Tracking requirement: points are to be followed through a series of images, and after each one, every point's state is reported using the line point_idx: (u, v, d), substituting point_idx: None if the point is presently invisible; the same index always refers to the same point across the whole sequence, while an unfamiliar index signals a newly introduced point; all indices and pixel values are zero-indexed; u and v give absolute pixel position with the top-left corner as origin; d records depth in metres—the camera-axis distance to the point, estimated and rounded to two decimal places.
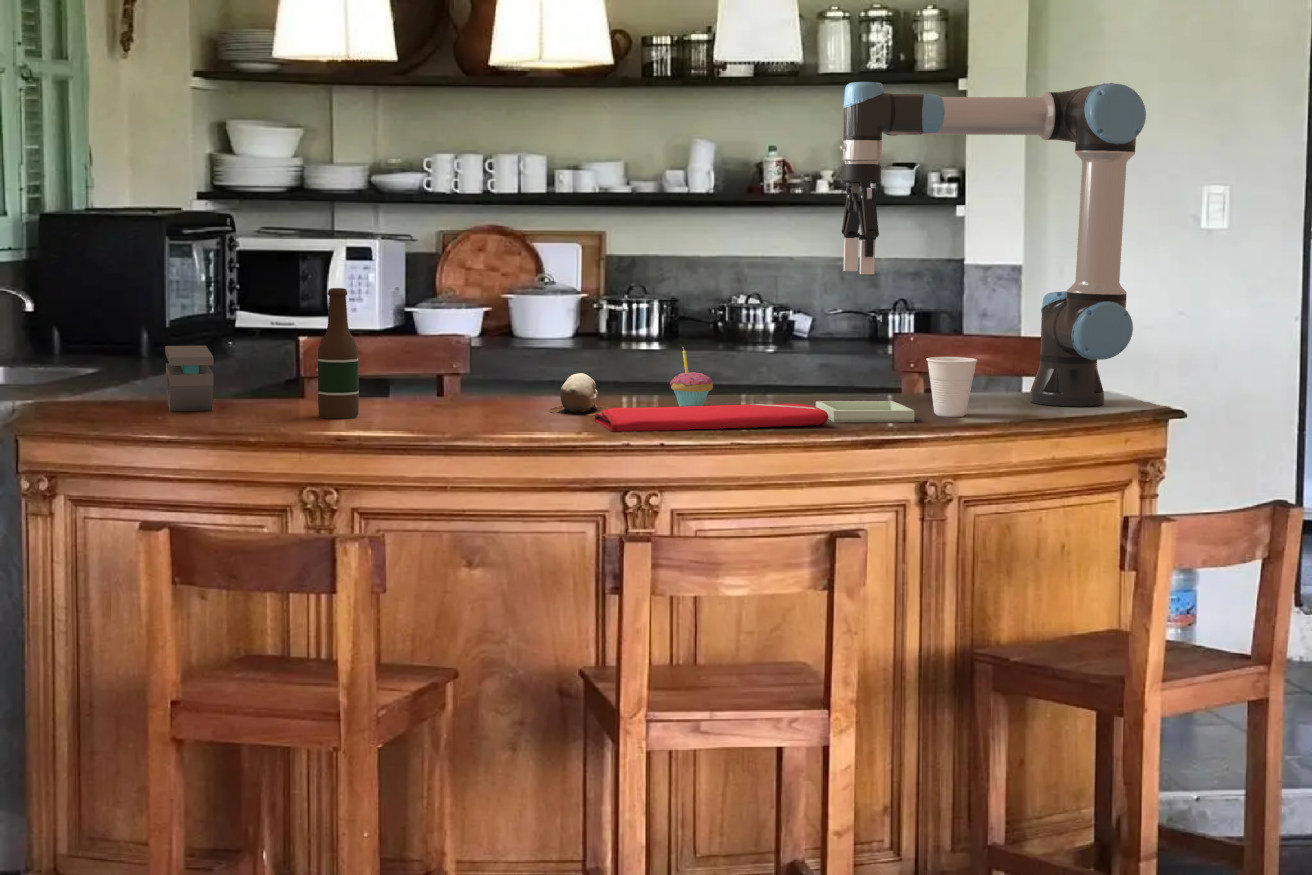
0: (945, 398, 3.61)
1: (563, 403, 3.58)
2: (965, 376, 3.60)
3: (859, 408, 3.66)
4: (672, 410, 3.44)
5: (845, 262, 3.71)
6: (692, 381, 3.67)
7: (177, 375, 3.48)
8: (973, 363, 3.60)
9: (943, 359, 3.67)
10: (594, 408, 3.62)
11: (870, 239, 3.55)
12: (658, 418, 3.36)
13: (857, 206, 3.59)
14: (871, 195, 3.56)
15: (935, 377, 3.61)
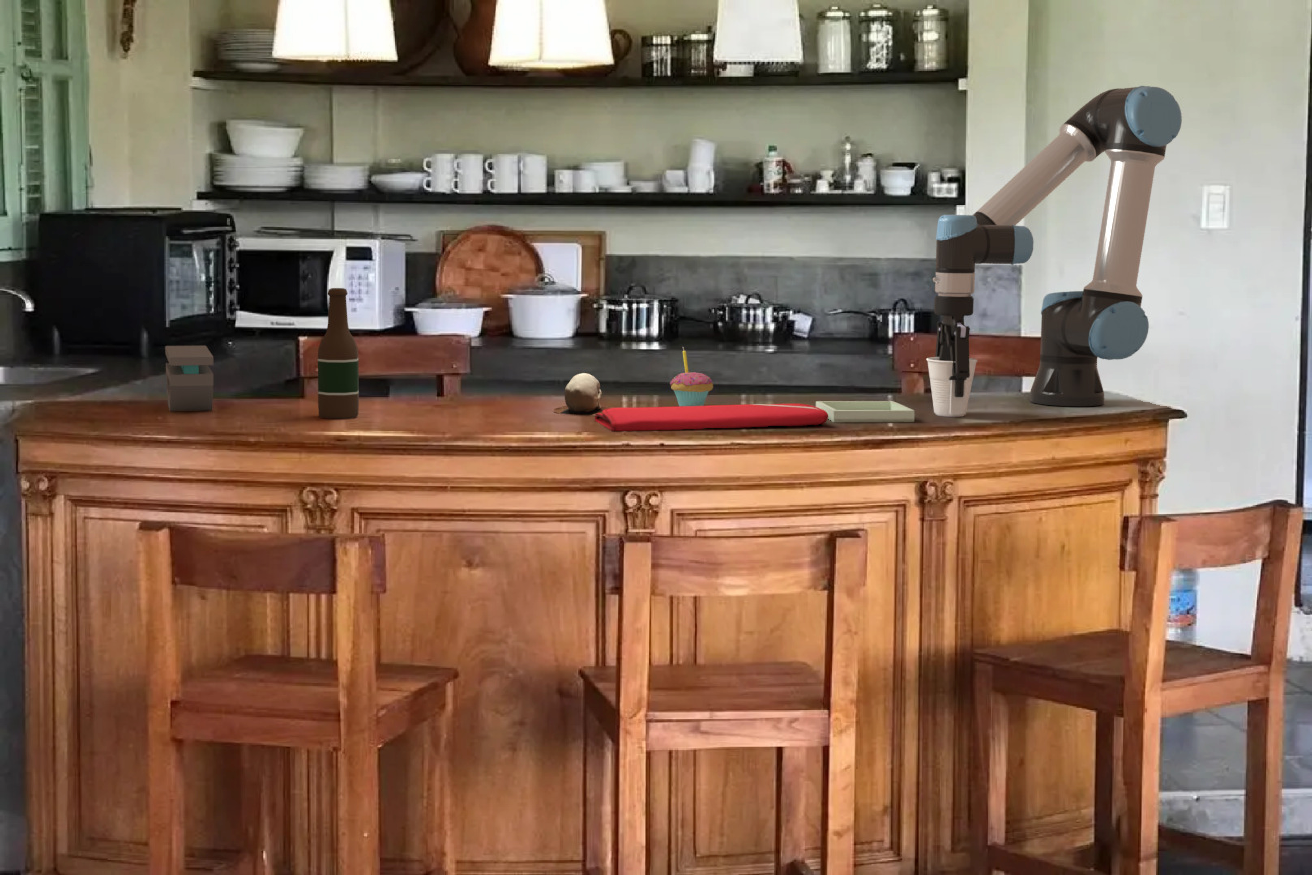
0: (945, 398, 3.61)
1: (567, 403, 3.58)
2: None
3: (859, 408, 3.66)
4: (672, 410, 3.44)
5: None
6: (692, 381, 3.67)
7: (177, 375, 3.48)
8: (973, 363, 3.60)
9: None
10: (598, 408, 3.62)
11: (961, 380, 3.57)
12: (658, 418, 3.36)
13: (949, 341, 3.59)
14: (965, 334, 3.56)
15: (935, 377, 3.61)
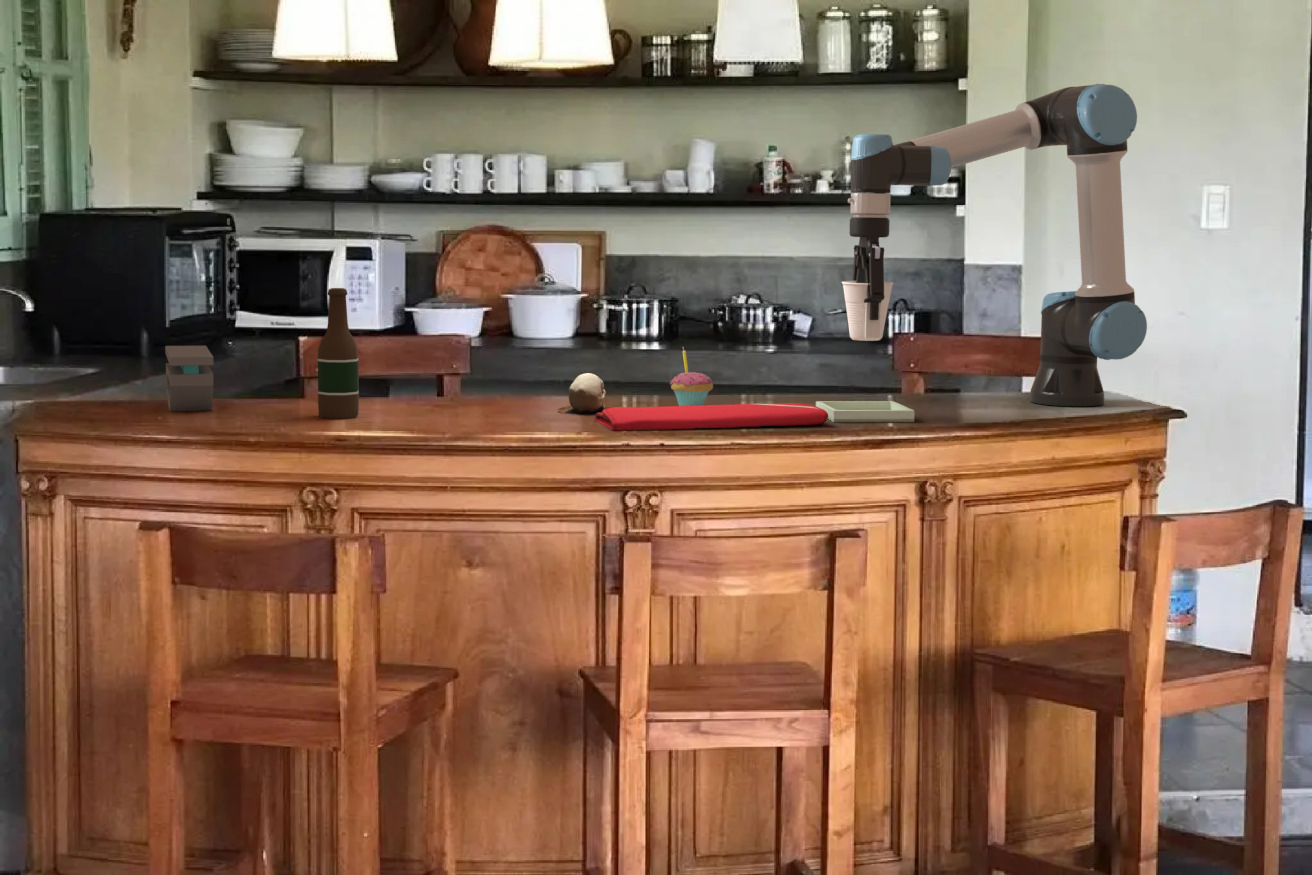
0: (860, 321, 3.53)
1: (571, 403, 3.59)
2: None
3: (859, 408, 3.66)
4: (672, 409, 3.44)
5: None
6: (692, 381, 3.67)
7: (177, 375, 3.48)
8: (888, 285, 3.53)
9: None
10: (602, 408, 3.62)
11: (875, 302, 3.50)
12: (658, 417, 3.37)
13: (864, 264, 3.52)
14: (879, 255, 3.48)
15: (850, 300, 3.54)
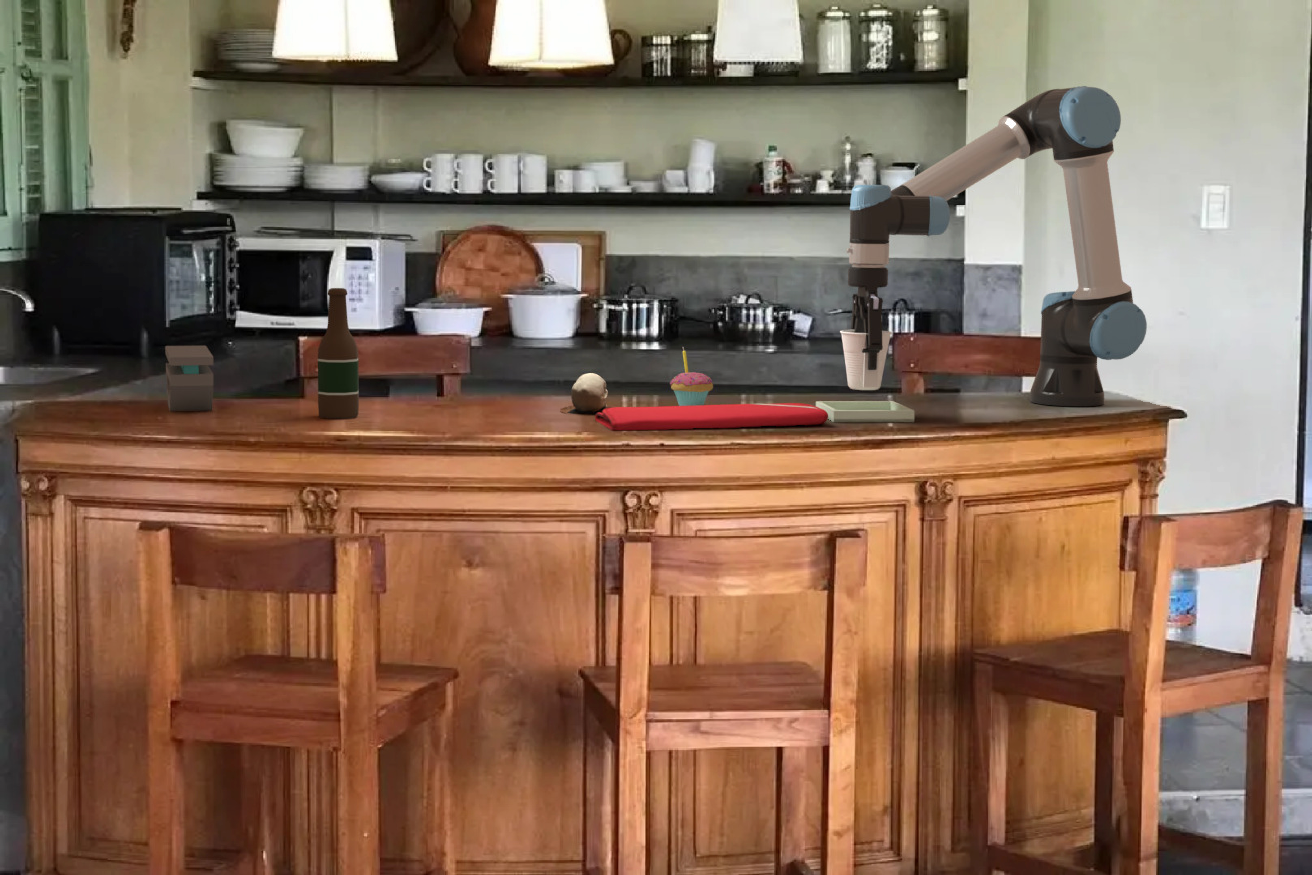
0: (858, 370, 3.55)
1: (574, 403, 3.59)
2: None
3: (859, 408, 3.66)
4: (672, 409, 3.45)
5: None
6: (692, 381, 3.67)
7: (177, 375, 3.48)
8: (887, 335, 3.54)
9: None
10: (604, 408, 3.63)
11: (873, 352, 3.51)
12: (658, 417, 3.37)
13: (863, 313, 3.53)
14: (877, 306, 3.50)
15: (849, 350, 3.55)
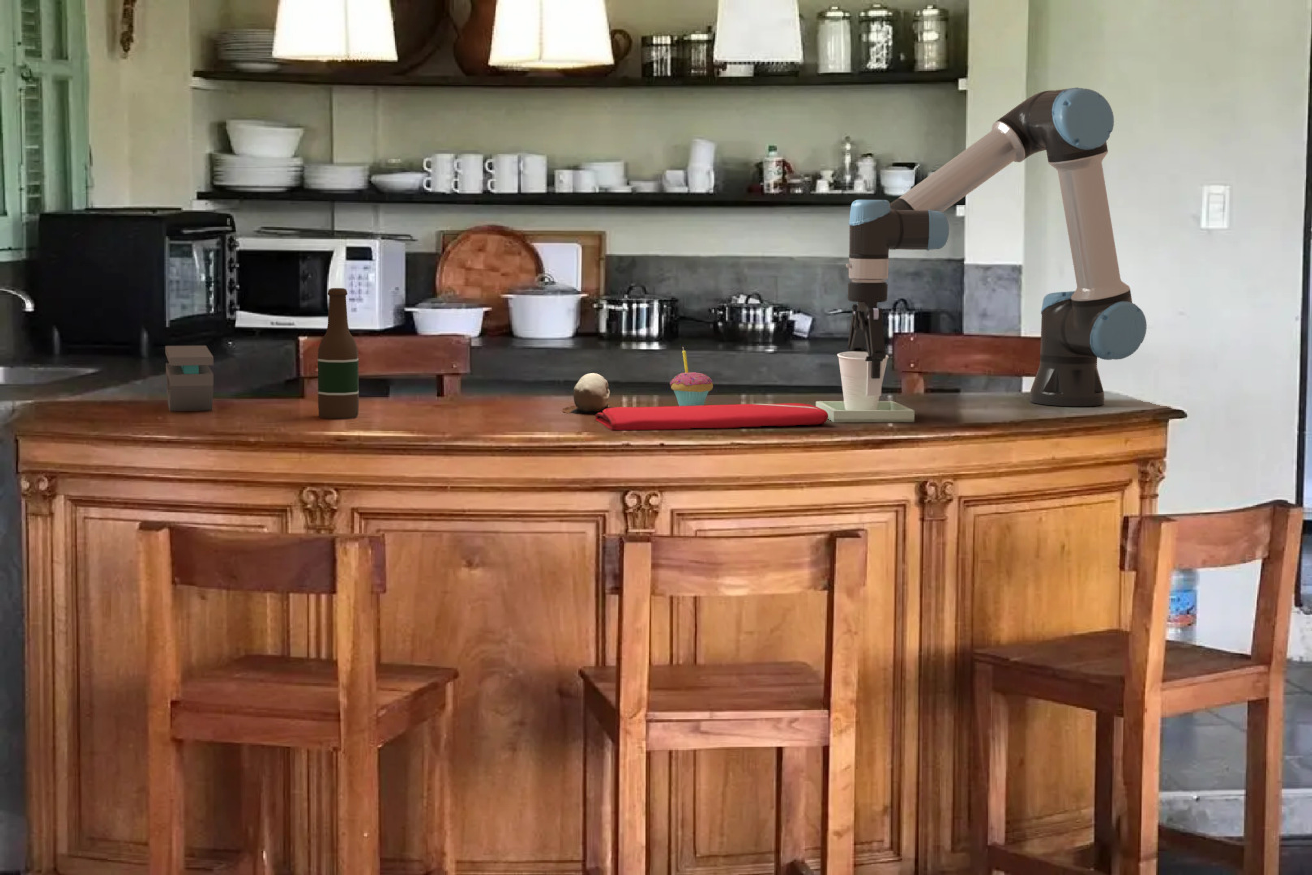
0: (855, 395, 3.57)
1: (576, 403, 3.59)
2: None
3: None
4: (672, 409, 3.45)
5: None
6: (692, 381, 3.67)
7: (177, 375, 3.48)
8: (884, 360, 3.56)
9: (855, 354, 3.64)
10: None
11: (877, 361, 3.49)
12: (658, 417, 3.37)
13: (863, 326, 3.53)
14: (878, 316, 3.50)
15: (846, 374, 3.57)
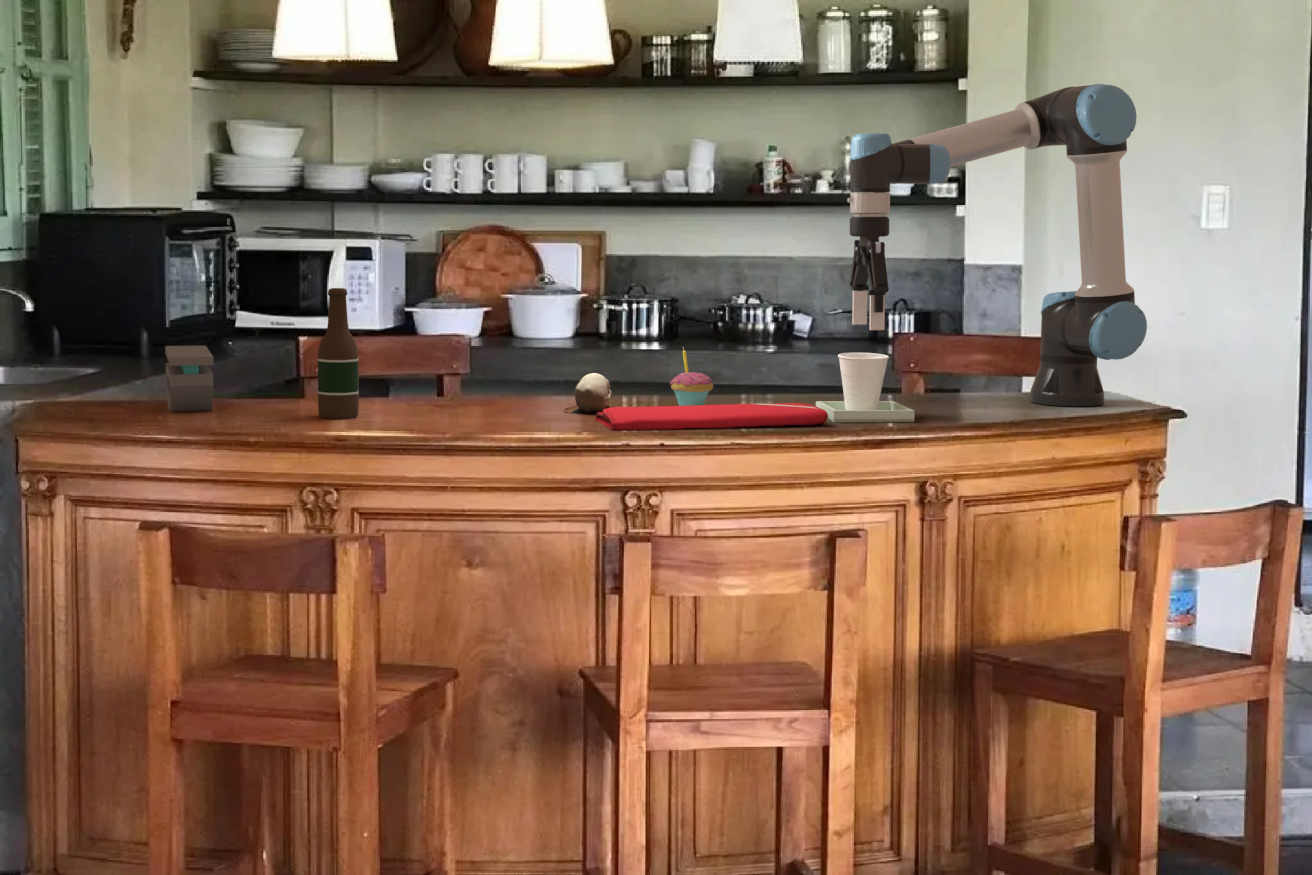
0: (855, 395, 3.58)
1: (578, 403, 3.59)
2: (876, 373, 3.57)
3: None
4: (672, 409, 3.45)
5: (854, 315, 3.63)
6: (692, 381, 3.67)
7: (177, 375, 3.48)
8: (884, 360, 3.57)
9: (855, 355, 3.65)
10: None
11: (880, 294, 3.48)
12: (658, 417, 3.37)
13: (866, 260, 3.51)
14: (880, 249, 3.48)
15: (846, 374, 3.58)
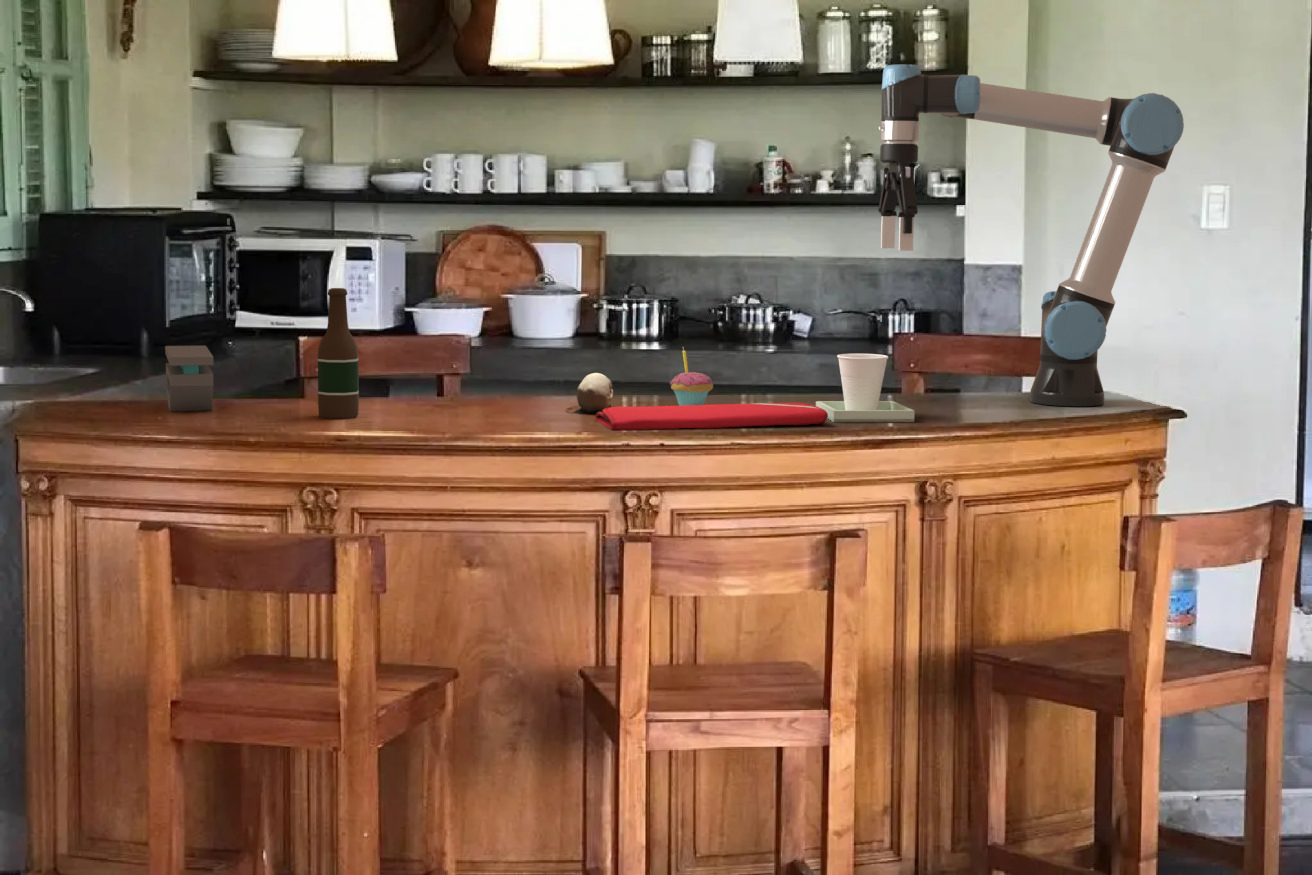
0: (855, 395, 3.58)
1: (580, 403, 3.59)
2: (875, 372, 3.57)
3: None
4: (672, 409, 3.45)
5: (882, 240, 3.83)
6: (692, 381, 3.67)
7: (177, 375, 3.48)
8: (883, 360, 3.58)
9: (855, 356, 3.65)
10: None
11: (909, 216, 3.67)
12: (658, 417, 3.38)
13: (896, 185, 3.71)
14: (910, 174, 3.68)
15: (846, 374, 3.59)
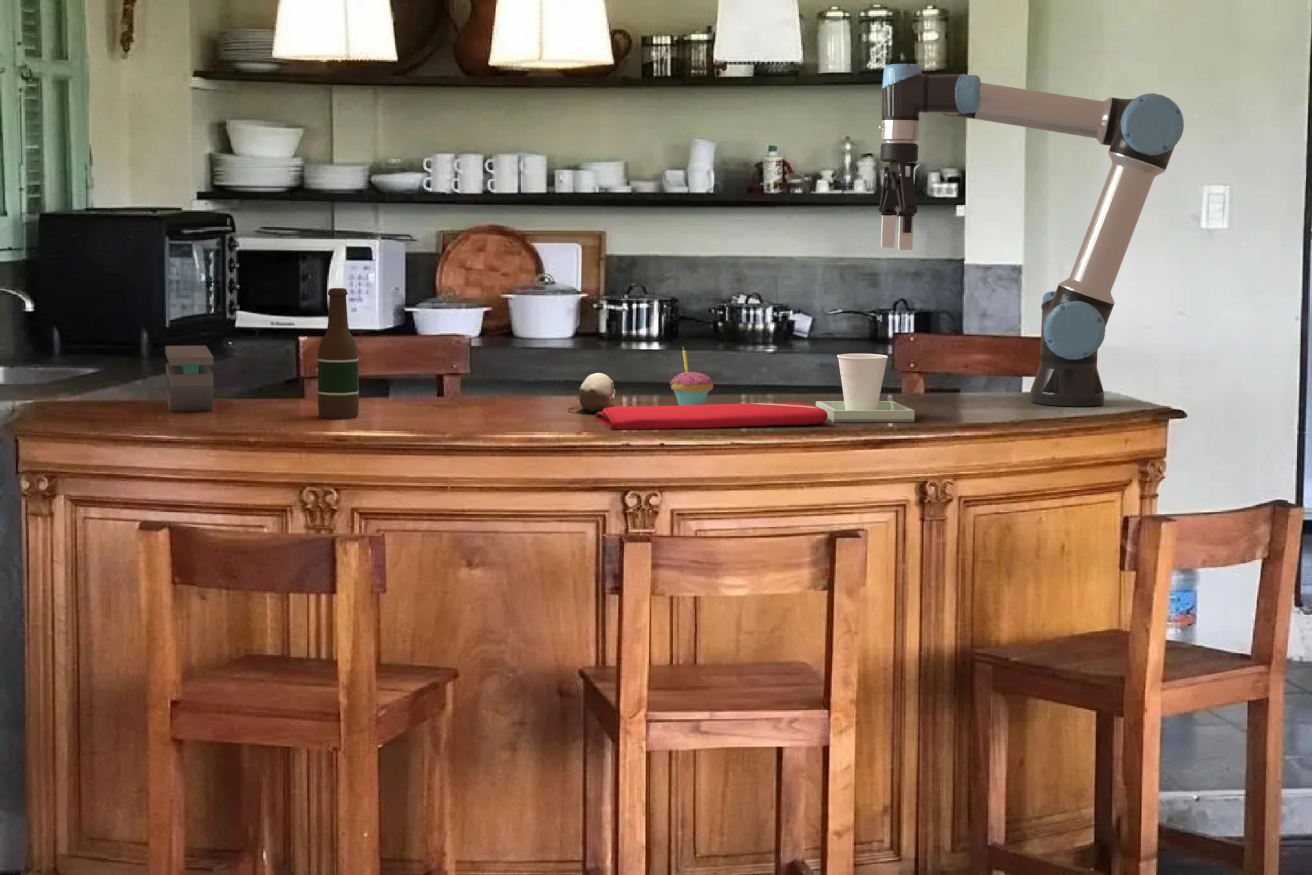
0: (855, 395, 3.58)
1: (582, 403, 3.59)
2: (875, 372, 3.57)
3: None
4: (672, 409, 3.46)
5: (882, 239, 3.83)
6: (692, 381, 3.67)
7: (177, 375, 3.48)
8: (883, 360, 3.58)
9: (854, 356, 3.65)
10: None
11: (908, 216, 3.68)
12: (657, 416, 3.38)
13: (895, 184, 3.71)
14: (909, 173, 3.68)
15: (846, 374, 3.59)
